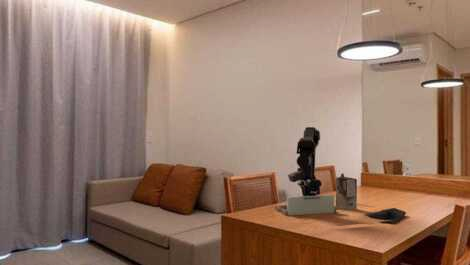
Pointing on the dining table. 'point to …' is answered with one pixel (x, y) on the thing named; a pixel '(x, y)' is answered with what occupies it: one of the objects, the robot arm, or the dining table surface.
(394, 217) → the dark slate chunk
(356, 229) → the dining table surface
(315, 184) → the robot arm
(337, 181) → the coffee box
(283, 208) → the brown shallow tray
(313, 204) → the tailgate
